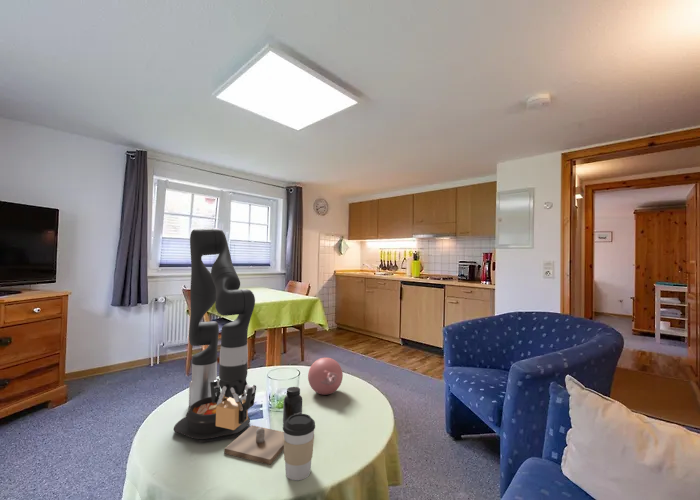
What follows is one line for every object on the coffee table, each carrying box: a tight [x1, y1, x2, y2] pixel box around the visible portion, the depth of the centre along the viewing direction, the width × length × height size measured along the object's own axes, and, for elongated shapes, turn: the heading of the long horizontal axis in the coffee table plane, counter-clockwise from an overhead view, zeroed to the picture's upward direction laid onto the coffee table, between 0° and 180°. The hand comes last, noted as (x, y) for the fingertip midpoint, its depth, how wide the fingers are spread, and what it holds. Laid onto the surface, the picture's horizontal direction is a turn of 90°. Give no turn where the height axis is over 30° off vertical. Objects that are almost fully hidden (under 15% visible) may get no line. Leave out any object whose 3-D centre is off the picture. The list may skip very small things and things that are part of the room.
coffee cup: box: [282, 413, 316, 481], centre depth 88 cm, size 9×9×15 cm
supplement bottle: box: [282, 386, 303, 423], centre depth 114 cm, size 7×7×12 cm
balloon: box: [307, 357, 344, 396], centre depth 137 cm, size 15×20×15 cm
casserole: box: [173, 397, 251, 440], centre depth 109 cm, size 25×19×8 cm
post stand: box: [223, 424, 284, 466], centre depth 100 cm, size 16×14×6 cm
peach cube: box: [216, 397, 249, 430], centre depth 88 cm, size 6×6×6 cm
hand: (232, 420), depth 88 cm, fingers closed on peach cube, 6 cm apart
